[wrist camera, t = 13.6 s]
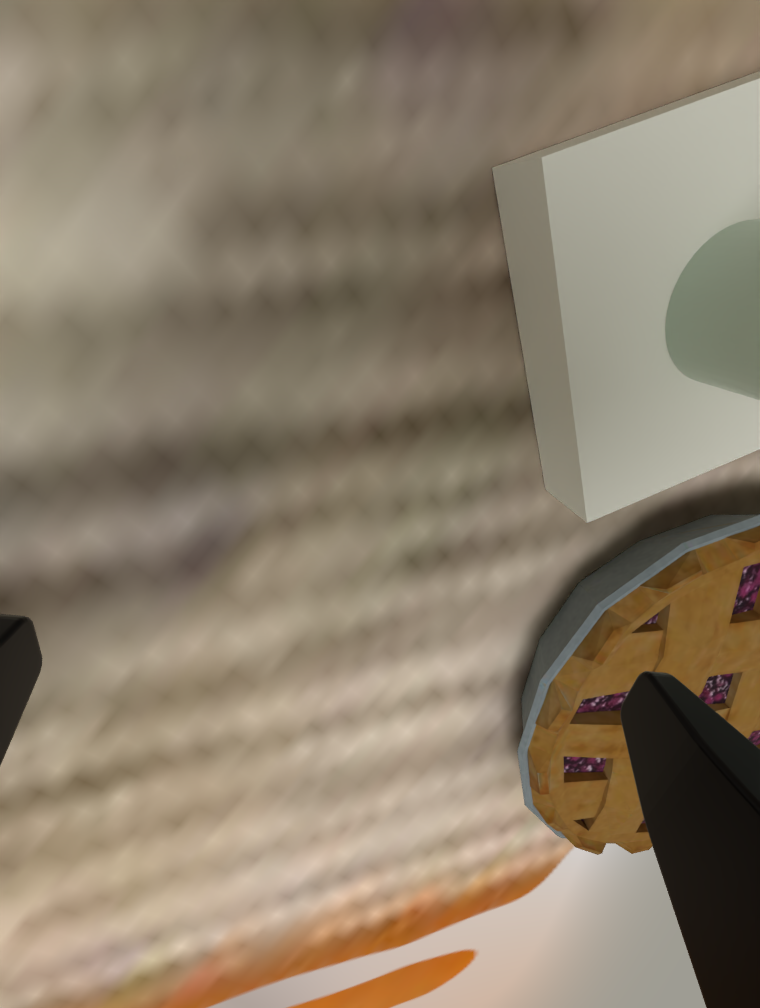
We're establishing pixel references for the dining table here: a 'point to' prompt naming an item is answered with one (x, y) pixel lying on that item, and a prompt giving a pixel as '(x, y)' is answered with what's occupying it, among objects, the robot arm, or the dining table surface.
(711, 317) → the ball
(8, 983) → the dining table surface
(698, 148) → the stand
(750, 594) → the pie
